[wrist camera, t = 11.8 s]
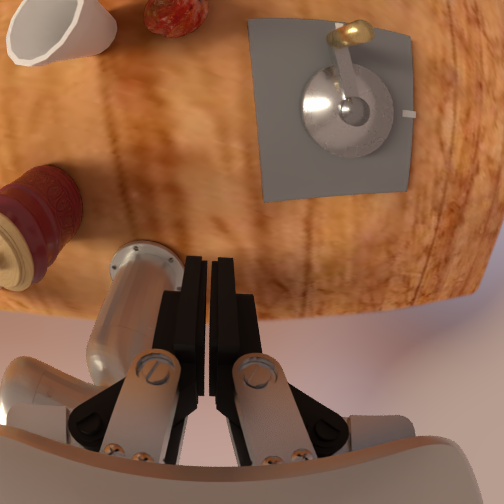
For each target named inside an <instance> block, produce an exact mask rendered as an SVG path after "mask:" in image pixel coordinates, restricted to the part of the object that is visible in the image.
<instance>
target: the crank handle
mask: <svg viewBox="0 0 504 504" xmlns="http://www.w3.org/2000/svg"><path fill="white" fill-rule="evenodd" d="M374 36H375V32H374V29H373V27H372V26H371V25H370V24H369V23H368V22H366V21H364V20H356V21H354V22H351V23H349V24H347V25H344V26H342V27H340V28H337V29H335V30H333V31H331V32H329V33H328V34H327V35H326V42H327V46H328V49H329V53H330V57H331V61H332V65H329V66H326V67H324V68H322V69H320V70H318V71H317V72H315V73H314V74H313V75H312V76H311V77H310V78H309V79H308V81H307V82H306V84H305V85H304V87H303V90H302V92H301V96H300V102H299V111H300V117H301V121H302V124H303V126H304V128H305V130H306V132H307V133H308V135H309V136H310V137H311V139H312V140H313V141H314V142H315V143H317V144H318V145H319V146H321V147H322V148H324V149H325V150H327V151H328V152H330V153H332V154H334V155H337V156H340V157H346V158H356V157H361V156H365V155H367V154H370V153H371V152H373V151H375V150H376V149H377V148H378V147H380V145H381V144H382V143H383V142H384V141H385V140H386V138H387V136H388V135H389V132H390V130H391V127H392V124H393V117H394V109H393V102H392V98H391V95H390V93H389V91H388V89H387V87H386V85H385V84H384V82H383V81H382V80H381V79H380V78H379V77H378V76H377V75H376V74H375V73H373V72H372V71H371V70H369V69H367V68H365V67H363V66H361V65H357V64H352V61H351V57H350V53H349V49H348V47H349V46H353V45H357V44H361V43H366V42H370V41H372V40H373V38H374Z"/></svg>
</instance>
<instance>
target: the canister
mask: <svg viewBox="0 0 504 504" xmlns="http://www.w3.org/2000/svg"><path fill="white" fill-rule="evenodd" d="M82 212H83V207H82V200H81V196H80V193H79V190H78V188H77V186H76V184H75V183H74V181H73V180H72V179H71V177H70V176H69V175H68V174H67V173H66V172H64V171H63V170H61V169H60V168H58V167H55V166H51V165H43V166H38V167H34V168H32V169H30V170H29V171H27V172H26V173H24V174H23V175H22V176H21V177H20V178H18V179H16V180H15V181H13V182H12V183H10V184H8V185H6V186H4V187H3V188H1V189H0V286H2V287H4V288H6V289H8V290H11V291H23V290H25V289H27V288H28V287H29V286H30V285H32V284H35V283H37V282H39V281H40V280H41V279H42V278H43V277H44V275H45V273H46V271H47V268H48V267H49V266H50V265H52V264H53V262H54V261H55V259H56V258H57V255H58V254H59V252H60V251H61V250H62V248H63V247H64V246H65V245H66V243H68V242H69V241H70V240H71V239H72V238H73V236H74V235H75V233H76V232H77V230H78V227H79V225H80V222H81V219H82Z"/></svg>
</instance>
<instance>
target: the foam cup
mask: <svg viewBox="0 0 504 504" xmlns="http://www.w3.org/2000/svg"><path fill="white" fill-rule="evenodd" d="M116 33H117V24H116V20H115V19H114V18H113V17H112V16H111V14H110V13H109V12H108V11H107V10H106V9H105V8H104V7H103V6H102V5H101V4H100V3H99V2H98V1H97V0H23V1H22V3H21V4H20V6H19V8H18V9H17V11H16V12H15V14H14V16H13V17H12V19H11V22H10V25H9V29H8V33H7V36H6V43H7V53H8V55H9V56H10V58H11V59H12V60H13V62H14V63H15V64H17V65H23V66H44V65H47V64H49V63H52V62H57V61H62V60H68V59H75V58H82V57H89V56H93V55H97V54H100V53H101V52H103V51H104V50H106V49H107V48H108V47H109V46H110V44H111V43H112V42H113V40H114V39H115V36H116Z"/></svg>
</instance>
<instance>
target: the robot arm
mask: <svg viewBox="0 0 504 504" xmlns="http://www.w3.org/2000/svg"><path fill="white" fill-rule="evenodd" d="M110 275H111V279H112V281H113V282H112V284H111V286H110V288H109V291H108V293H107V295H106V298H105V300H104V302H103V305H102V307H101V310H100V312H99V315H98V317H97V320H96V322H95V325H94V327H93V330H92V333H91V335H90V338H89V341H88V344H87V349H86V360H87V366H88V369H89V372H90V375H91V378H92V380H93V382H94V385H93V384H91V383H86V382H84V381H82V380H79V379H77V378H75V377H73V376H71V375H68V374H66V373H64V372H62V371H60V370H58V369H55V368H54V367H52V366H50V365H48V364H46V363H44V362H41V361H39V360H37V359H34V358H32V357H27V356H22V357H18V358H16V359H14V360H13V361H12V362H11V363H10V364H9V365H8V367H7V369H6V371H5V373H4V375H3V378H2V382H1V386H0V504H483V501H482V497H481V493H480V490H479V487H478V484H477V481H476V478H475V475H474V473H473V470H472V468H471V466H470V463H469V461H468V459H467V457H466V455H465V454H464V452H463V451H462V449H461V448H460V446H459V445H458V444H457V443H455V442H454V441H452V440H450V439H447V438H443V437H438V436H415V430H414V427H413V424H412V423H411V421H410V420H409V419H408V418H406V417H404V416H400V415H388V416H361V415H359V416H358V415H350V416H349V417H341V416H340V415H339V414H337V413H335V412H334V411H332V410H330V409H329V408H327V407H325V406H324V405H322V404H321V403H319V402H317V401H316V400H314V399H313V398H311V397H309V396H308V395H306V394H305V393H303V392H302V391H300V390H298V389H297V388H295V387H294V386H292V385H291V384H289V383H288V382H287V379H286V377H285V374H284V372H283V369H282V367H281V366H280V364H279V363H278V362H277V361H276V360H275V359H274V358H272V357H270V356H268V355H266V354H262V348H261V342H260V335H259V328H258V322H257V315H256V308H255V302H254V296H253V294H236V291H235V277H234V263H233V258H222V257H218V261H212V273H211V296H210V330H209V331H210V333H209V396H215V401H216V408H217V410H219V411H220V412H221V413H222V414H223V415H225V416H226V419H227V424H228V428H229V433H230V437H231V441H232V445H233V448H234V452H235V456H236V460H237V464H238V467H201V466H200V467H199V466H183V465H179V459H180V454H181V449H182V444H183V439H184V433H185V429H186V424H187V418H188V415H189V414H190V413H191V412H193V411H194V410H195V409H197V404H198V396H204V364H205V359H204V358H205V324H206V285H207V261H202V256H187V257H186V263H185V267H184V265H183V263H182V261H181V260H180V259H179V258H178V256H177V255H176V254H175V253H174V252H172V251H171V250H170V249H168V248H167V247H165V246H163V245H161V244H159V243H156V242H152V241H143V240H141V241H133V242H130V243H127V244H125V245H124V246H122V247H121V248H120V249H118V250H117V252H116V253H115V255H114V257H113V259H112V261H111V264H110Z"/></svg>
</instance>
